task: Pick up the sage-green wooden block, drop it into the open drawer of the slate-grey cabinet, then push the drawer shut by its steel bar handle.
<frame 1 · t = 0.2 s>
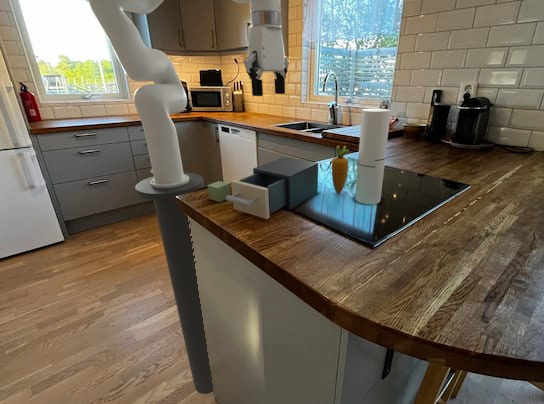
hand: (269, 94, 81), 29 cm above the worktop, tool pointing down, fingers open, 9 cm apart
carrot: (338, 194, 90), on the worktop
cabinet: (287, 196, 89), on the worktop
block: (220, 198, 88), on the worktop
cylindrical container: (367, 199, 86), on the worktop
drawer: (260, 194, 78), point 5 cm above the worktop, slide at 8.0 cm
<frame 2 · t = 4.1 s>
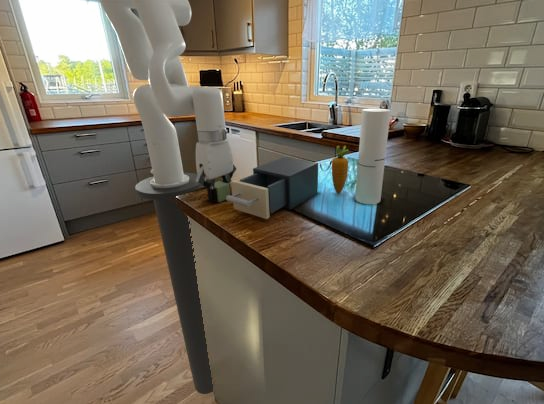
hand: (219, 197, 88), 0 cm above the worktop, tool pointing down, fingers closed on block, 4 cm apart
block: (220, 198, 88), on the worktop, touching gripper
everything else where it was.
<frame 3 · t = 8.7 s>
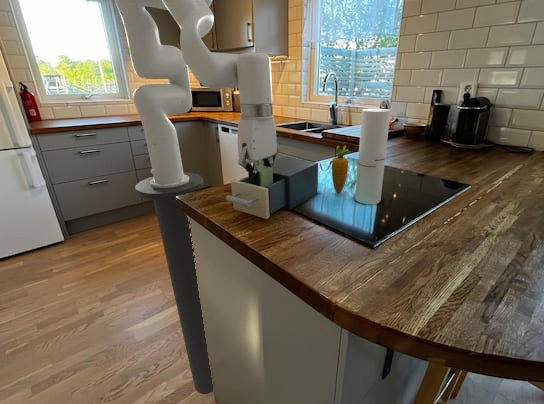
hand: (261, 183, 77), 8 cm above the worktop, tool pointing down, fingers closed on block, 4 cm apart
block: (261, 184, 77), point 7 cm above the worktop, touching gripper
everything else where it was.
when the fingers open (9 cm above the worktop, at t = 16.0 s): block drops 7 cm, resting on drawer.
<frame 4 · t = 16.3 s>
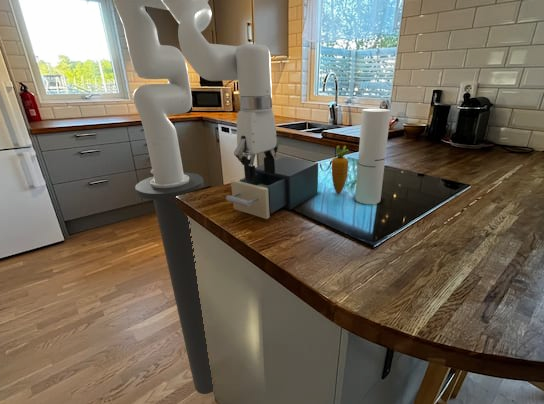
hand: (260, 175, 76), 10 cm above the worktop, tool pointing down, fingers open, 6 cm apart
block: (262, 203, 80), point 2 cm above the worktop, touching drawer
drawer: (260, 194, 78), point 5 cm above the worktop, slide at 8.0 cm, touching block
everything else where it was.
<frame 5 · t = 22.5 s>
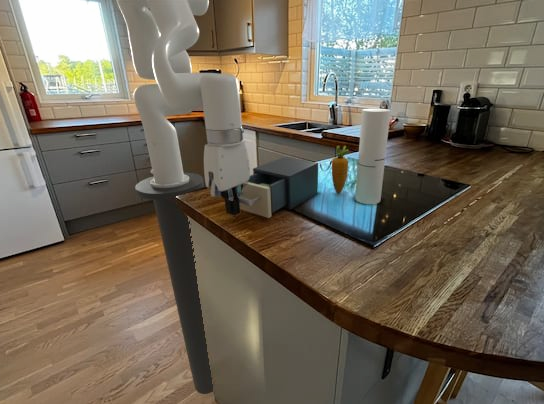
hand: (233, 213, 71), 3 cm above the worktop, tool pointing down, fingers closed
drawer: (262, 193, 79), point 5 cm above the worktop, slide at 7.2 cm, touching block, gripper
everything else where it was.
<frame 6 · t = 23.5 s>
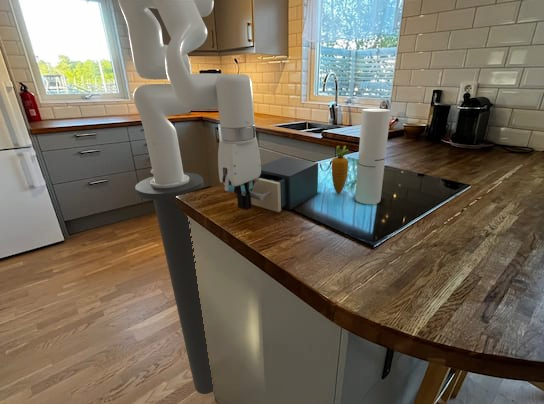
hand: (244, 207, 74), 3 cm above the worktop, tool pointing down, fingers closed
block: (273, 197, 83), point 2 cm above the worktop, touching drawer
drawer: (271, 188, 82), point 5 cm above the worktop, slide at 3.2 cm, touching block, gripper
everything else where it was.
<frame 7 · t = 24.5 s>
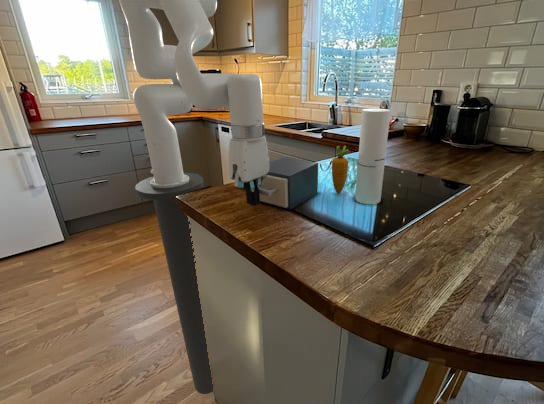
hand: (253, 203, 76), 3 cm above the worktop, tool pointing down, fingers closed
block: (280, 193, 86), point 2 cm above the worktop, touching drawer
drawer: (278, 185, 84), point 5 cm above the worktop, slide at 0.0 cm, touching block, cabinet, gripper
everything else where it was.
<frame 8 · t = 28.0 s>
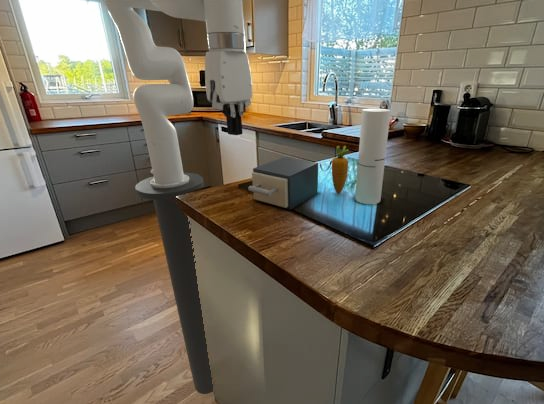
hand: (235, 134, 69), 21 cm above the worktop, tool pointing down, fingers closed
drawer: (278, 185, 84), point 5 cm above the worktop, slide at 0.0 cm, touching block, cabinet
everything else where it was.
at the end: drawer slide at 0.0 cm; block inside the target area in the cabinet (3.3 cm from its centre), point 2.0 cm above the cabinet's base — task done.
